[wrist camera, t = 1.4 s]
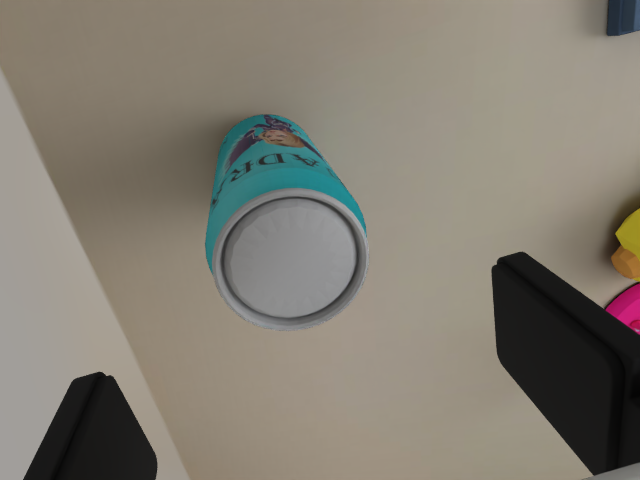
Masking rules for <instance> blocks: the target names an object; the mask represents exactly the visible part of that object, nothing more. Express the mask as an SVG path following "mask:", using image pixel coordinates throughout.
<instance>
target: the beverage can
mask: <svg viewBox="0 0 640 480" xmlns="http://www.w3.org/2000/svg"><path fill="white" fill-rule="evenodd" d="M205 247H206V257H207V261H208V265H209V268H210V270H211V272H212V274H213V277H214V280H215V284H216V286H217V288H218V290H219V293H220V295H221V297H222V298H223V299H224V301H225V302H226V304H227V305H228V306H229V307H230V308H231V309H232V310H233V311H234V312H235V313H236V314H237V315H239V316H240V317H242V318H243V319H244V320H246V321H248V322H250V323H252V324H254V325H257V326H260V327H263V328H266V329H271V330H278V331H293V330H302V329H306V328H311V327H313V326H316V325H319V324H322V323H324V322H326V321H328V320H330V319H331V318H333V317H334V316H336V315H337V314H339V313H340V312H341V311H342V310H344V309H345V308H346V307H347V306H348V305H349V304H350V303H351V301H352V300H353V299H354V298H355V297H356V295H357V294H358V292H359V290H360V289H361V287H362V285H363V282H364V280H365V278H366V274H367V270H368V263H369V249H368V242H367V235H366V226H365V222H364V218H363V215H362V213H361V210H360V208H359V206H358V204H357V203H356V201H355V200H354V199H353V197H352V196H351V194H350V193H349V192H348V190H347V189H346V188H345V186H344V185H343V183H342V182H341V181H340V179H339V178H338V177H337V175H336V174H335V173H334V171H333V170H332V169H331V167H330V166H329V164H328V163H327V162H326V160H325V159H324V158H323V156H322V155H321V154H320V152H319V151H318V150H317V148H316V147H315V146H314V144H313V143H312V141H311V140H310V139H309V137H308V136H307V135H306V133H305V132H304V131H303V130H302V129H301V128H300V127H299V126H298V125H296V124H295V123H294V122H292V121H290V120H288V119H286V118H283V117H280V116H276V115H257V116H253V117H250V118H247V119H245V120H243V121H241V122H240V123H238V124H237V125H236V126H234V127H233V128H232V129H231V130H230V131H229V132H228V134H227V135H226V137H225V138H224V140H223V142H222V144H221V147H220V150H219V154H218V161H217V167H216V174H215V180H214V187H213V193H212V199H211V206H210V212H209V219H208V225H207V232H206V242H205Z"/></svg>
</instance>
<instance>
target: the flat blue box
mask: <svg viewBox="0 0 640 480" xmlns="http://www.w3.org/2000/svg"><path fill="white" fill-rule="evenodd" d="M639 30H640V0H609V12H608V29H607V35H608V36H619V35H623V34H627V33H631V32H635V31H639Z"/></svg>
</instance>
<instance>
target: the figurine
mask: <svg viewBox="0 0 640 480" xmlns="http://www.w3.org/2000/svg"><path fill="white" fill-rule="evenodd" d="M606 311H607V312H609V313H610V314H611V315H613V316H614V317H616V318H617V319H618V320H620V321H621V322H623V323H624V324H625V325H627V326H628V327H630V328H631V329H632V330H634V331H635V332H637V333H638V334H639V335H640V283H639V284H637V285H635V286H633V287H631V288H630V289H628V290H626V291H625V292H624V293H622V294H621V295H620V296H618V297H617V298H616V299H615V300H614V301H613V302H612V303H611V304H610V305H609V306H608V307H607V308H606Z"/></svg>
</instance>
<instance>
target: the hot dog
mask: <svg viewBox="0 0 640 480" xmlns="http://www.w3.org/2000/svg"><path fill="white" fill-rule="evenodd" d="M615 234H616V236H617V238H618V239H619V241H620V243H621V246H620V247H619V248H618V250H617V251H616V252H615V253H614V255H613V256H612V257H611V260H612V263H613V265H614V267H615V269H616V270H617V271H618V272H619V273H621V274H622V275H623V276H624V277H627V278H630V279H634V280H636V281H639V282H640V208H639V209H638V210H636V211H635V212H634V213H632V214H631V215H629V216H628V217H627V218H626V219H625V220H624V222H623V223H622V225H621V226H620V228H619V229H618V230H617V232H616V233H615Z"/></svg>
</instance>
